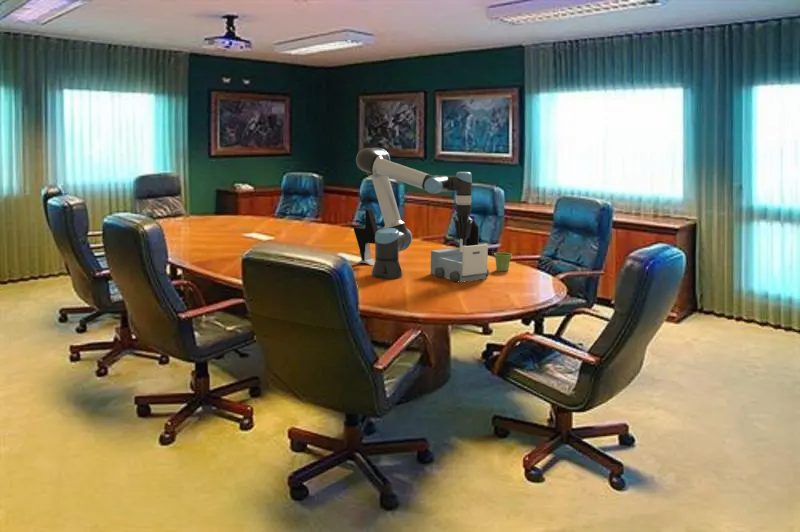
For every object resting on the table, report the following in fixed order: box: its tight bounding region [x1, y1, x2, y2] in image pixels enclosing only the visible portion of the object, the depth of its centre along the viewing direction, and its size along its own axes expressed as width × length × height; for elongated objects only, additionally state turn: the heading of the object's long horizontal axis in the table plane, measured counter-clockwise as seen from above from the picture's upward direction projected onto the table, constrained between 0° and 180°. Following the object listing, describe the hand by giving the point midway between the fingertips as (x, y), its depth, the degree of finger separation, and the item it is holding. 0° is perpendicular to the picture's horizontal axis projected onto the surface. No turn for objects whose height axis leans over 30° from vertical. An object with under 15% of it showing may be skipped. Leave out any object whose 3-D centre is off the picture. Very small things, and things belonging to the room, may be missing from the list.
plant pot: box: [493, 252, 513, 272], centre depth 369 cm, size 9×9×9 cm
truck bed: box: [430, 247, 490, 283], centre depth 352 cm, size 21×24×12 cm
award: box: [353, 208, 379, 266], centre depth 381 cm, size 15×5×30 cm, turn 58°
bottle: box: [466, 214, 480, 246], centre depth 374 cm, size 9×9×28 cm
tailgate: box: [462, 243, 489, 278], centre depth 341 cm, size 15×1×15 cm, turn 124°
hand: (462, 251), depth 348 cm, fingers closed
